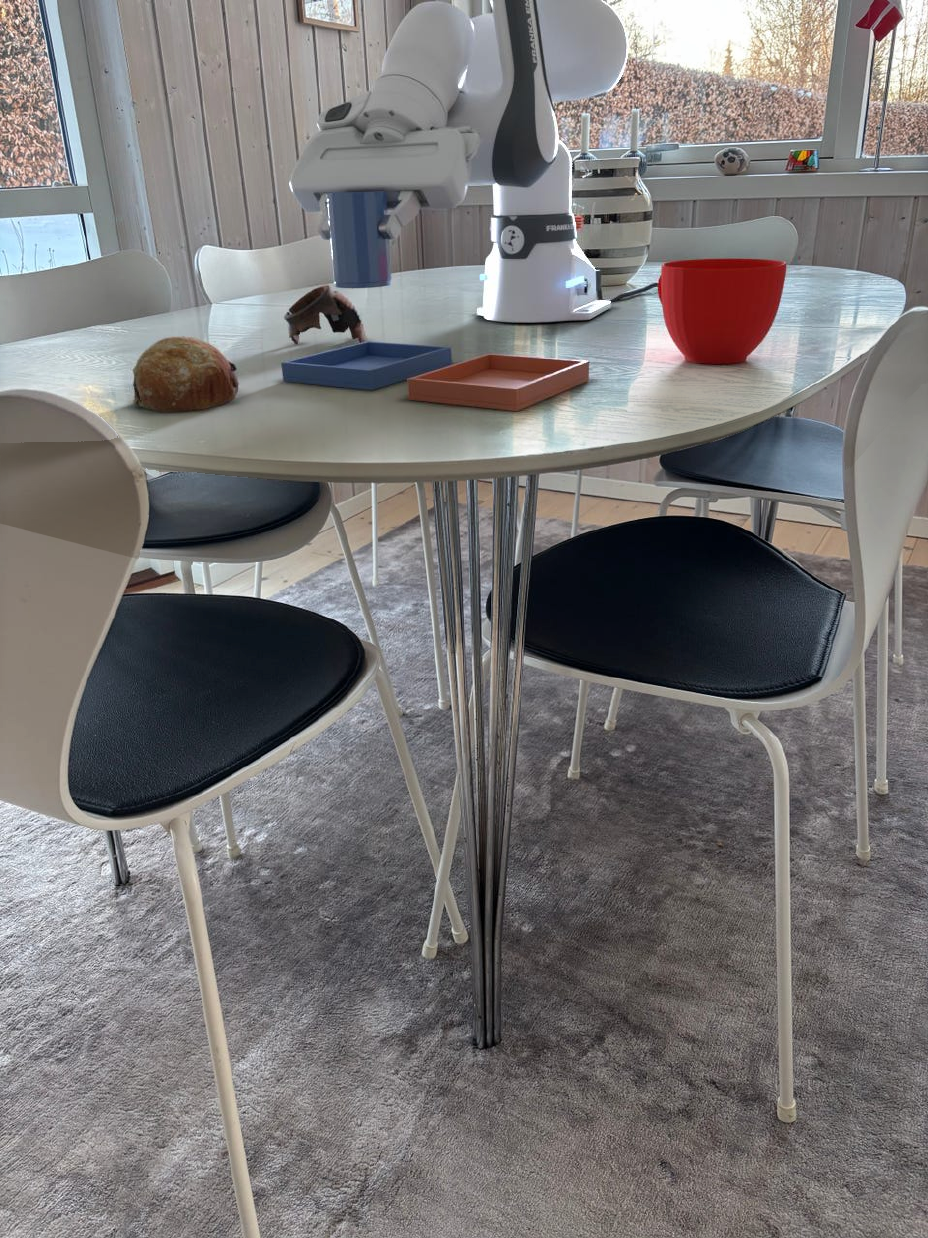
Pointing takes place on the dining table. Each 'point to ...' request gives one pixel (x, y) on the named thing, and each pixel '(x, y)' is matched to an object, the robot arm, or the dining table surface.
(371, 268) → the blue tumbler
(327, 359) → the blue tray
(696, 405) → the dining table surface
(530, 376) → the terracotta tray
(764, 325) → the ceramic cup
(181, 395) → the bread roll
